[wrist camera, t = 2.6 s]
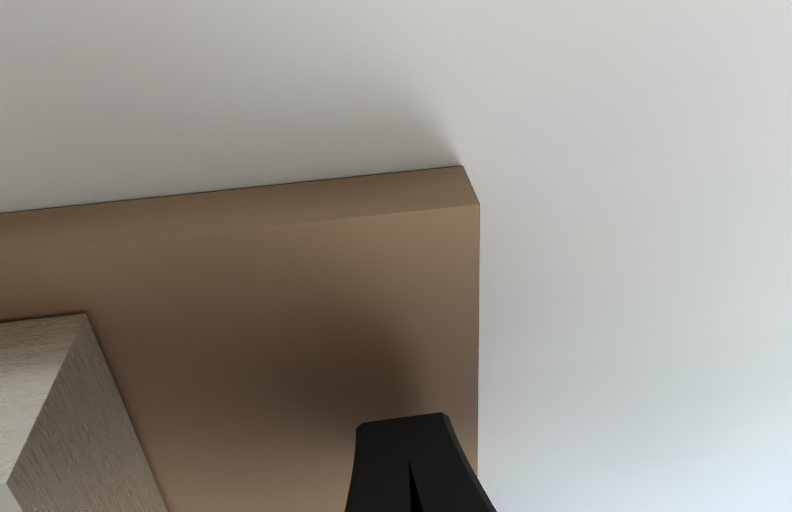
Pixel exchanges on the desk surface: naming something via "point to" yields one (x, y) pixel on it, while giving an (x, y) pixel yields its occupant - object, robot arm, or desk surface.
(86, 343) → the bar
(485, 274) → the desk surface
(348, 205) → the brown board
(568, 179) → the desk surface
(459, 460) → the robot arm
